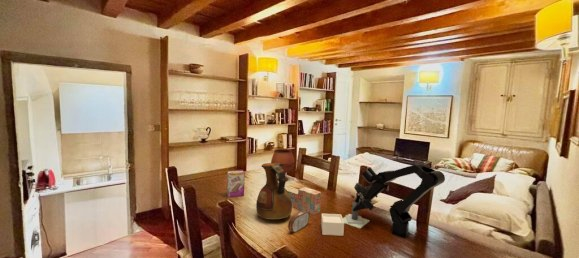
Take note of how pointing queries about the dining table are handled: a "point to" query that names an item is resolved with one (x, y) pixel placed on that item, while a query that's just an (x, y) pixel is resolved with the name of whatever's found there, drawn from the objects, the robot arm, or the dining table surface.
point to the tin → (298, 221)
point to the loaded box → (332, 224)
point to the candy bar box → (235, 183)
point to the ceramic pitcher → (274, 194)
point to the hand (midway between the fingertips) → (352, 208)
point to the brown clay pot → (284, 159)
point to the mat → (356, 224)
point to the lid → (354, 216)
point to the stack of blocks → (306, 199)
